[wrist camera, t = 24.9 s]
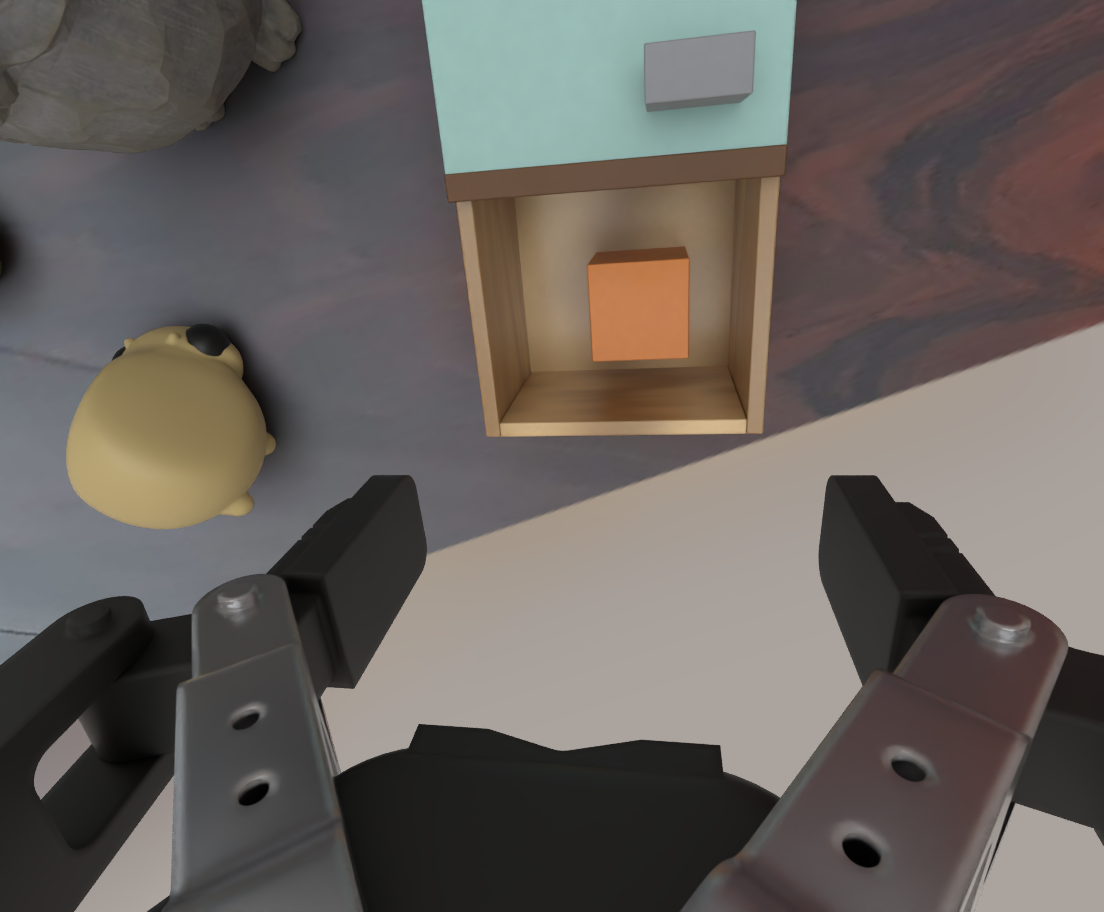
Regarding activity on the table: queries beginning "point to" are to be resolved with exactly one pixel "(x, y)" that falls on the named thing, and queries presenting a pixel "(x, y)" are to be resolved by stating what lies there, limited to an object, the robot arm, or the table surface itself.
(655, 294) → the block
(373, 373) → the table surface
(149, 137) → the figurine
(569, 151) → the mint sliding box lid
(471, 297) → the maple box
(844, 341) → the table surface
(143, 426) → the toy pig
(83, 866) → the robot arm
